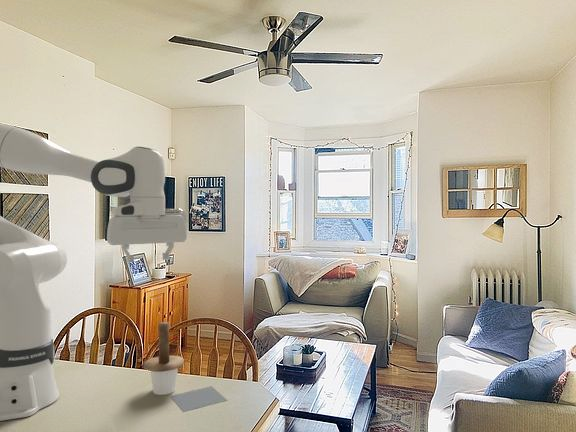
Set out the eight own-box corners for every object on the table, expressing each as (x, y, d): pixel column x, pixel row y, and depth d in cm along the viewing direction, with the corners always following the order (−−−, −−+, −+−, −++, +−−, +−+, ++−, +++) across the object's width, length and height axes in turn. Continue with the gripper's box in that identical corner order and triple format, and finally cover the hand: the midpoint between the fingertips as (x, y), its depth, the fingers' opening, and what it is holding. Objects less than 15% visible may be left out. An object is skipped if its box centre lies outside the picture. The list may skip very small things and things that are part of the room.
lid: (149, 374, 104) (148, 330, 104) (139, 362, 112) (139, 321, 112) (189, 366, 109) (189, 324, 109) (177, 355, 117) (176, 316, 117)
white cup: (170, 398, 107) (170, 370, 106) (145, 396, 108) (144, 368, 108) (182, 387, 113) (182, 360, 113) (158, 385, 115) (158, 358, 115)
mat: (183, 413, 98) (183, 411, 98) (169, 397, 107) (169, 396, 107) (227, 401, 104) (227, 400, 104) (211, 387, 113) (211, 386, 113)
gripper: (182, 208, 123) (182, 257, 123) (105, 208, 112) (105, 262, 112) (189, 208, 117) (190, 259, 118) (109, 208, 106) (110, 264, 107)
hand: (148, 260), depth 115 cm, fingers open, 8 cm apart
